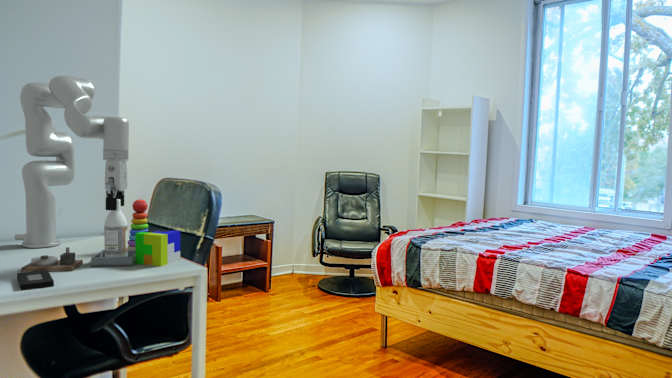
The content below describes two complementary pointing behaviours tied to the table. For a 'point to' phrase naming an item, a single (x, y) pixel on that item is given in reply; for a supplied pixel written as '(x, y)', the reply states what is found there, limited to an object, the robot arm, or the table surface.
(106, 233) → the bath foam
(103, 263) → the tray
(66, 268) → the board
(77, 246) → the table surface
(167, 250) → the puzzle toy
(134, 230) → the stacking toy
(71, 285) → the table surface
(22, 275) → the vhs tape
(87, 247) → the table surface
